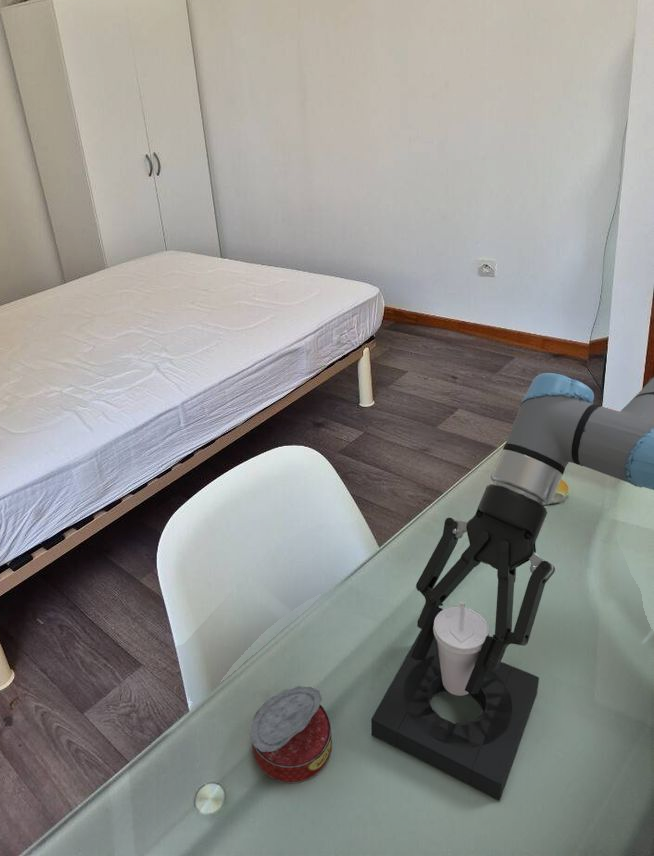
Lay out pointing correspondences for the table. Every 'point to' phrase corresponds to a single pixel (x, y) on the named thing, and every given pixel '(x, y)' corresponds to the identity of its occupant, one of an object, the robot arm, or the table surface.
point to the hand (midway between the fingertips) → (443, 674)
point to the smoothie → (459, 645)
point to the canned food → (292, 735)
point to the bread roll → (560, 492)
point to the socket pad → (452, 742)
